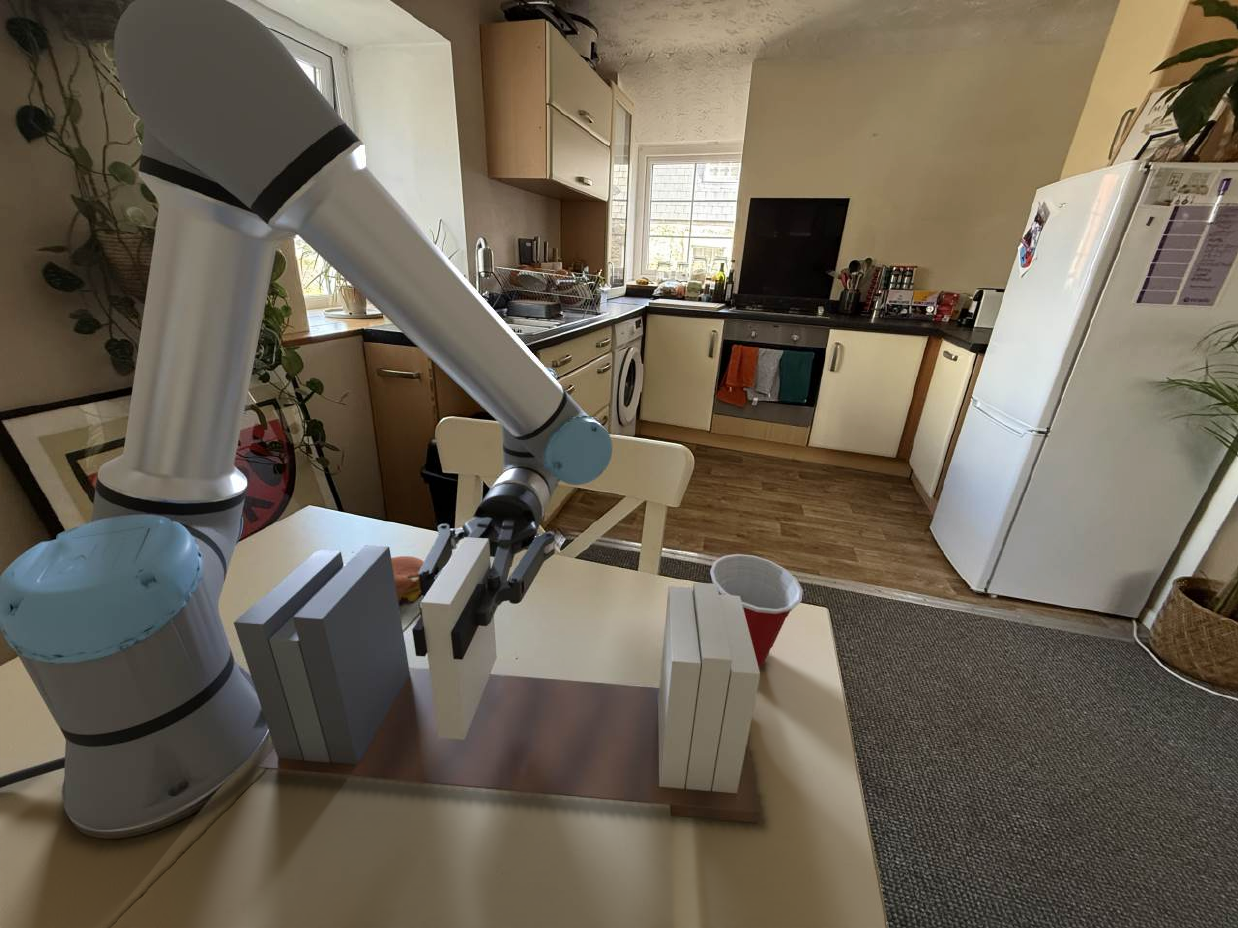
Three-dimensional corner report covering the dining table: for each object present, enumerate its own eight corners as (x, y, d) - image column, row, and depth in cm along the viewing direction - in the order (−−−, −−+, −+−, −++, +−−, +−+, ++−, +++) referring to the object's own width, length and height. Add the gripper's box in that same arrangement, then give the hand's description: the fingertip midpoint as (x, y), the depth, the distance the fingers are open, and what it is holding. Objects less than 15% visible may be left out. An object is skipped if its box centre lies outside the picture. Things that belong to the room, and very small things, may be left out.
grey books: (277, 758, 47) (229, 612, 40) (344, 668, 57) (315, 541, 50) (357, 765, 46) (322, 619, 40) (410, 674, 56) (389, 546, 50)
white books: (659, 786, 45) (672, 655, 39) (658, 697, 55) (669, 580, 49) (737, 793, 45) (762, 662, 39) (722, 702, 54) (741, 585, 48)
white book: (438, 737, 45) (420, 602, 39) (475, 655, 54) (464, 536, 48) (464, 740, 45) (450, 604, 39) (496, 657, 54) (489, 538, 48)
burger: (385, 572, 76) (381, 546, 75) (444, 577, 76) (441, 551, 74) (347, 614, 67) (341, 586, 65) (413, 621, 67) (409, 592, 65)
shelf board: (261, 778, 46) (257, 767, 46) (342, 671, 58) (340, 661, 58) (758, 823, 44) (760, 812, 44) (735, 703, 56) (737, 693, 56)
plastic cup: (791, 697, 57) (811, 614, 53) (697, 680, 59) (708, 598, 54) (782, 633, 67) (798, 558, 62) (701, 620, 69) (711, 546, 64)
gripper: (574, 539, 63) (533, 687, 41) (454, 531, 63) (351, 672, 42) (575, 486, 60) (531, 614, 38) (449, 477, 60) (335, 599, 39)
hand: (437, 644), depth 40 cm, fingers closed on white book, 2 cm apart
